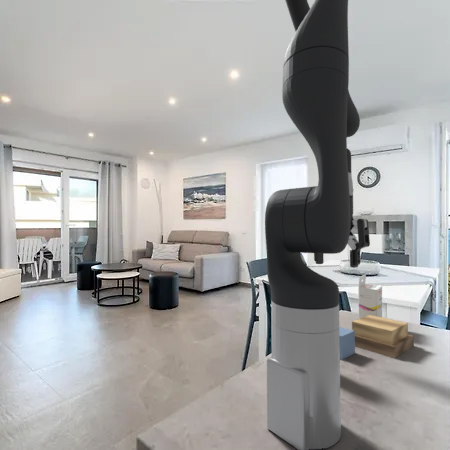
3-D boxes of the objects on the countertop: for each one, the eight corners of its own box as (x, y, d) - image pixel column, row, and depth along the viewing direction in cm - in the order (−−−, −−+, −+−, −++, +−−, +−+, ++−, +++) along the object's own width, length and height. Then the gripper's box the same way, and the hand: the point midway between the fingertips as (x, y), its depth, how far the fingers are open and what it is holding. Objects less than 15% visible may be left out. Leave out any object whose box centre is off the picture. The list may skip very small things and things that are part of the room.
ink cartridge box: (378, 334, 78) (377, 278, 79) (358, 330, 81) (357, 276, 82) (383, 325, 85) (382, 274, 86) (364, 322, 88) (363, 273, 88)
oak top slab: (391, 344, 64) (391, 331, 64) (352, 334, 71) (351, 321, 71) (408, 335, 70) (407, 323, 70) (369, 326, 77) (369, 314, 77)
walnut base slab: (394, 361, 63) (394, 347, 63) (345, 345, 72) (345, 333, 72) (413, 348, 70) (413, 335, 70) (367, 335, 78) (367, 324, 79)
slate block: (342, 360, 62) (341, 336, 63) (319, 352, 67) (319, 329, 67) (355, 353, 66) (354, 330, 66) (332, 346, 70) (332, 325, 70)
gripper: (299, 196, 71) (300, 264, 70) (357, 189, 59) (358, 269, 59) (317, 198, 75) (318, 262, 75) (374, 192, 64) (375, 267, 64)
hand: (336, 265), depth 67 cm, fingers open, 8 cm apart
